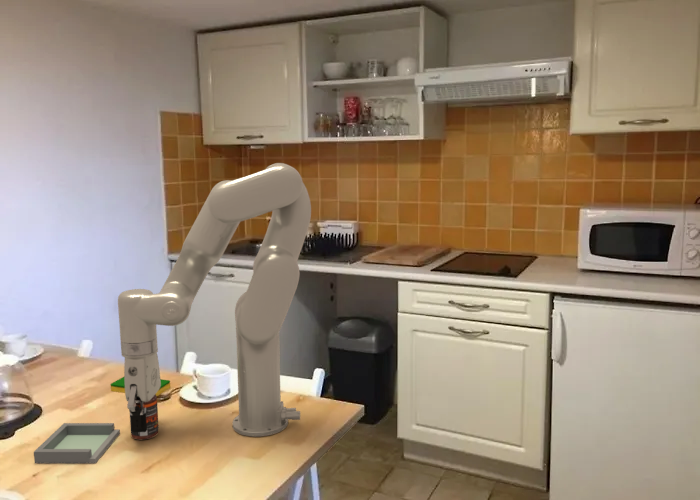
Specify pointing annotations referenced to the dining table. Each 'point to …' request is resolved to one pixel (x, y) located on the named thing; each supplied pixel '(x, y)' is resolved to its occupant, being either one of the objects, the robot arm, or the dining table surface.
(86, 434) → the dock bay
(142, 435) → the supplement bottle
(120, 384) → the dish sponge
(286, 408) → the robot arm
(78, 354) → the dining table surface
